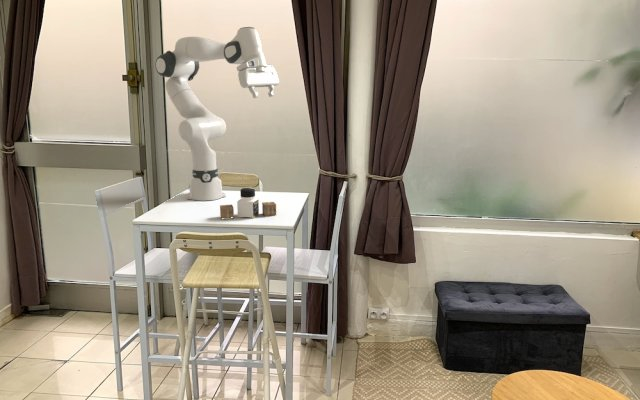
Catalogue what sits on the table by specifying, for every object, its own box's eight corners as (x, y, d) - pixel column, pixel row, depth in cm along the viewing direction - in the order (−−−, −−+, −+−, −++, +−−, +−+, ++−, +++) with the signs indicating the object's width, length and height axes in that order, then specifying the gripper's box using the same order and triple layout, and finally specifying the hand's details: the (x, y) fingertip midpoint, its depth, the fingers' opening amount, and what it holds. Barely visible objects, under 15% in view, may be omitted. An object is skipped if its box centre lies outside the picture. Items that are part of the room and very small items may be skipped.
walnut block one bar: (220, 216, 228) (219, 205, 226) (232, 215, 229) (231, 204, 228) (221, 219, 223) (221, 207, 222) (233, 218, 224) (233, 207, 223)
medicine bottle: (253, 218, 224) (253, 190, 222) (237, 217, 226) (236, 189, 223) (259, 214, 231) (258, 187, 228) (243, 213, 233) (242, 186, 230)
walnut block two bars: (262, 213, 233) (262, 202, 231) (273, 212, 234) (273, 201, 233) (264, 216, 228) (264, 204, 227) (276, 215, 229) (276, 204, 228)
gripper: (267, 66, 238) (275, 97, 238) (233, 67, 222) (241, 100, 223) (277, 62, 233) (285, 93, 234) (243, 62, 218) (251, 96, 219)
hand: (263, 96), depth 228 cm, fingers open, 8 cm apart
